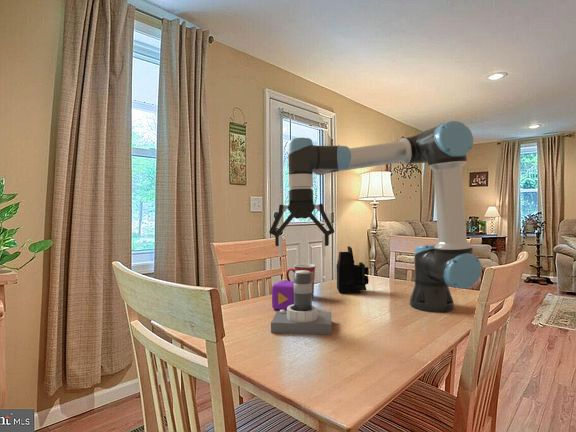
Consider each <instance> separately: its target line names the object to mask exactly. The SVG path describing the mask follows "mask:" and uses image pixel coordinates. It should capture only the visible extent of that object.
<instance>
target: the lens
mask: <svg viewBox="0 0 576 432" xmlns="http://www.w3.org/2000/svg"><path fill="white" fill-rule="evenodd" d="M293 281H294V311H311V310H312V305H313V303H312V302H313V298H312V273H311V272H310V271H307V270H299V271H295V272H293Z"/></svg>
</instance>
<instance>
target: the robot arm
mask: <svg viewBox="0 0 576 432" xmlns="http://www.w3.org/2000/svg"><path fill="white" fill-rule="evenodd" d="M313 144H314V143H313V140H312V139H311V138H308V137H295V138H292V139H290V141H288V151H287V152H288V153H287V155H288V161H287V162H288V187H289V188H290V189H289V190H288V202H289V203H288V205H284V204H279V205H278V212H277V214H276V216H275V218H274V221H273V222H272V225H271V227H270V229H269V234H270V235H273V236H274V237H275V247H278V257H279V258H282V257H283V235H281V234H282V232H284V230H285V228H286V227H287V226H288V225H289V223H291V221H293V219H297V220H298V219H308V218H309V219H310V220H311V221H312V222H313V224H314V225H316V227H318V228H319V230H320V232H322V233H323V234H322V237H321V238H322V240H321V242H322V243H321V244H322V258H326V247H328V246H329V245H330V243H329V241H330V239H329V238H330V235H332V234H334V233H335V228H334V227H333V225H332V223H331V221H330V219H329V217H328V216H327V214H326V212H325V208H324V203H320V204H314V203H315V202H314V189H312V188H313V187H314V175H316V176H321V175H326V174H332V173H336V172H337V173H338V172H342V171H343V172H344V171H350V170H357V169H364V168H369V167H370V168H371V167H378V166H384V165H386V166H387V165H391V164H398V163H402V164H403V165H410V164H427V165H428V168H430V170H432V172H433V182H434V196H435V197H434V198H435V209H436V211H435V213H436V228H437V243H435V244H431V245H429V244H428V245H425V244H424V245H417V246H415V248H414V254H413V257H414V285H413V286H414V287H413V289H412V292H411V294H410V298H409V305H410V307H412V308H414V309H417V310H421V311H425V312H433V313H445V312H451V311H453V310H454V309H455V303H454V302H455V301H454V299H453V296H452V293H451V291H450V288H455V289H461V290H462V289H463V290H464V289H465V290H466V289H468V288H471V287H473V286H475V284H476V283H477V282H478V281H479V279H480V277H481V275H482V271H483V269H482V267H483V266H482V263H481V260H480V259H479V258H478V257H477V256H476V255H474V249H473V245H472V244H471V243H470V242H468V239H467V224H466V221H467V220H466V212H465V211H466V210H465V194H464V177H463V167H464V166H465V165H466V164H467V162H468V161H467V160H468V159H467V154H468V153H469V152H470V151H471V149H472V148H473V145H474V136H473V133H472V131H471V129H470V128H469V127H468V126H466V125H465V123H463V122H461V121H459V120H458V121H456V120H450V121H447V122H442V123H440V124H438V125H436V126H434V127H431V128H428V129H426V130H425V131H423V132H420V133H418V134H415V135H412V136H407V137H403V138H401V139H400V140H399V141H395V142H387V143H386V142H385V143H381V144H380V143H379V144H372V145H365V146H358V147H352V148H350V147H348V146H347V145H340V144H338V145H317V144H316V145H315V144H314V145H313ZM313 174H314V175H313ZM315 209H316V211H318V212H319V213H320V215H321V217H322V218H323V221H324V223H325V224H326V226H327V228H328V230H327V229H326V228H325V226H324V225H323V224H322V223H321V222H320V221H319V220H318V219H317V218H316V216H315V215H314V214H313V212H314V210H315ZM287 210H288V211H289V212H290V214H289V215H288V216H287V218H286V219H285V220H284V222H283V223H282V224H281V225H280V226H279V228H278V225H279V224H280V221H281V219H282V216H283V215H284V212H286V211H287ZM277 228H278V229H277ZM276 229H277V230H276Z"/></svg>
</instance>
